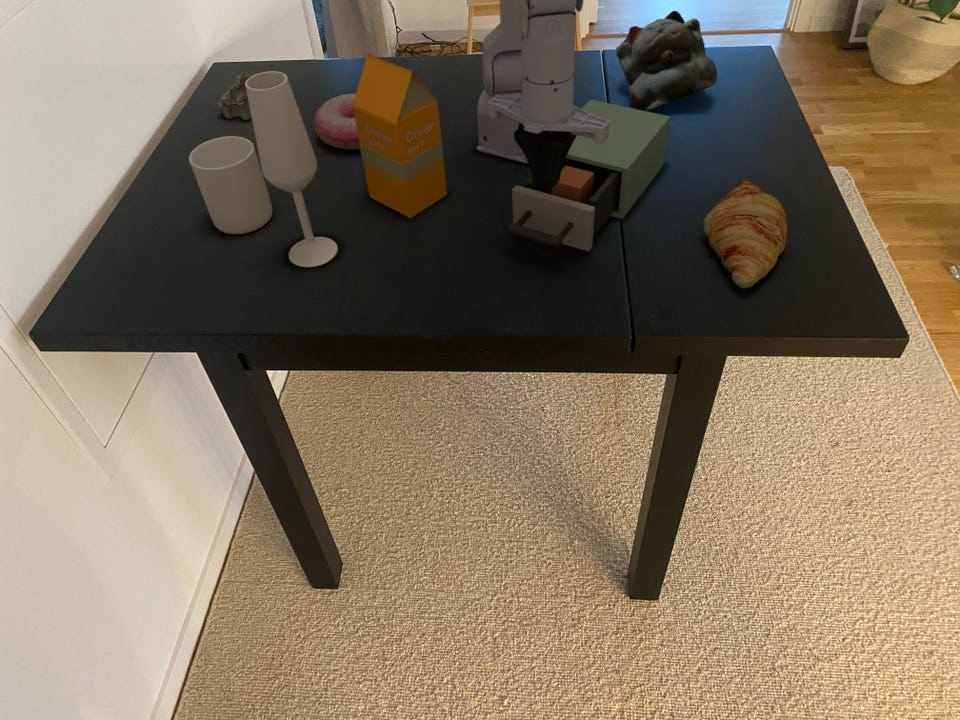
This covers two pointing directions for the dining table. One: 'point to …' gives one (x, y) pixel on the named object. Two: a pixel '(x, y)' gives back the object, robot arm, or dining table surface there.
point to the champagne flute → (286, 155)
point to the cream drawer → (564, 210)
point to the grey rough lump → (236, 99)
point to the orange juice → (399, 137)
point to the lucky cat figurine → (665, 61)
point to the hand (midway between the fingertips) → (546, 181)
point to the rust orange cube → (575, 185)
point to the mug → (232, 184)
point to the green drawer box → (625, 148)
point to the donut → (338, 123)
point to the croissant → (747, 232)
